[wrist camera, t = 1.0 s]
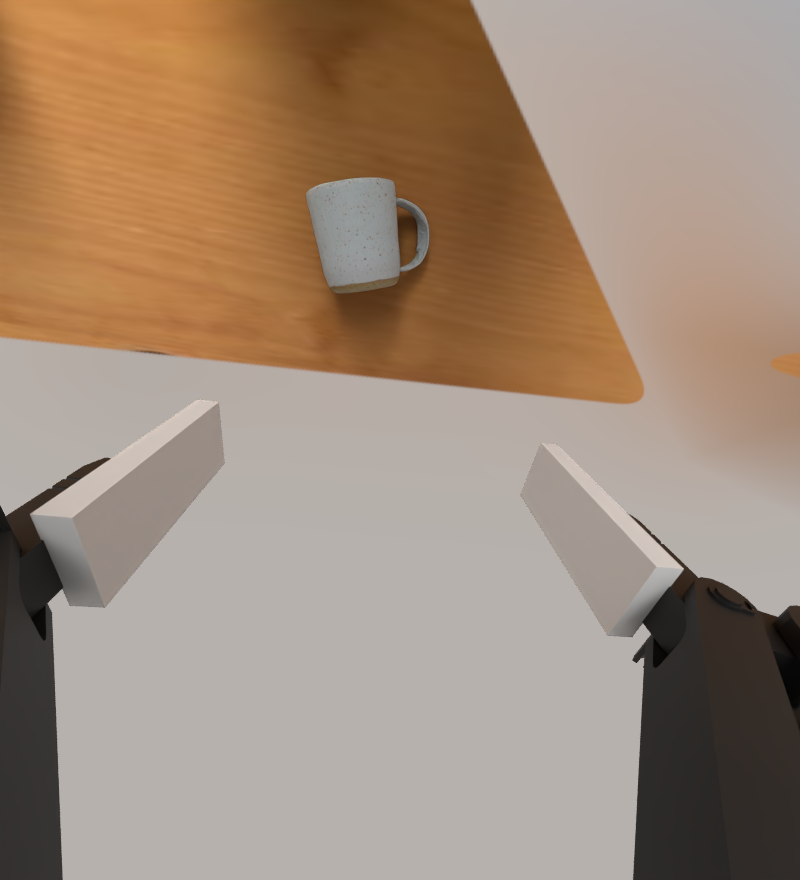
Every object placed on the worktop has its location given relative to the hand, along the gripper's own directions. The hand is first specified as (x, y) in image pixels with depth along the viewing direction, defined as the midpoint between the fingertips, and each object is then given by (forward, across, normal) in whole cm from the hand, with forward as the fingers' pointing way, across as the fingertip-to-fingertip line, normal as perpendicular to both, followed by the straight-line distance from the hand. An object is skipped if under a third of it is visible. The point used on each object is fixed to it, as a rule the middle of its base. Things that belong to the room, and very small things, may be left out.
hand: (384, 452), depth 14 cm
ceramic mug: (+27, -2, +9) cm, 29 cm away
